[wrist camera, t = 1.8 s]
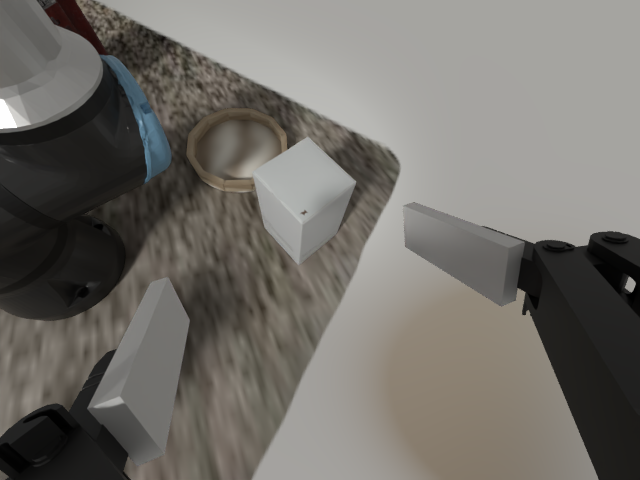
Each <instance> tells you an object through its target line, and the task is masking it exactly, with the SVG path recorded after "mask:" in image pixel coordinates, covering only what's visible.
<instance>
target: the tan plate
mask: <svg viewBox="0 0 640 480" xmlns="http://www.w3.org/2000/svg"><path fill="white" fill-rule="evenodd" d="M286 150H287V137H286V133H285V132H284V130H283V129H282V128H281V127H280V126H279V124H278V123H277V122H276V121H275V119H274V118H273V117H271V116H268V115H266V114H264V113H261V112H259V111H257V110H254V109H251V108H227V109H226V108H225V109H223V110H220V111H218V112H215V113H213V114H210V115H208V116H205V117H204V118H202V119H201V120H200V122H199V123H198V124H197V125H196V126H195V127H194V128H193V129H192V131H191V132H190V133H189V134H188V142H187V152H186V156H187V158H188V159H189V161H190V163H191V165H192V166H193V168H194V169H195V171H196V172H197V174H198V175H199V177H200V178H201V180H202V181H204V182H206V183H207V184H208V185H210V186H212V187H214V188H216V189H218V190H221V191H225V192H231V193H246V192H252V191H255V190H256V187H255V183H254V178H253V173H252V171H254V170H256V169H257V168H259V167H260V166H262V165H263V164H265V163H267V162H268V161H270V160H272V159H273V158H275V157H277V156H278V155H280V154H281V153H283V152H285V151H286Z"/></svg>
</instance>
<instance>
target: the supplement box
mask: <svg viewBox="0 0 640 480" xmlns="http://www.w3.org/2000/svg"><path fill="white" fill-rule="evenodd" d="M252 173H253V178H254V183H255V187H256V191H257V196H258V200H259V204H260V209H261V213H262V218H263V222H264V227H265V229H266V230H267V231H268V232H269V233H270V234H271V235H272V236H273V237H274V239H275V240H276V241H277V242H278V243H279V244H280V245H281V246H282V247H283V249H284V250H285V251H286V252H287V253H288V254H289V255H290V256H291V257H292V259H293V260H294V261H295V262H296V263H297V264H298V265H300V264H301V263H302V262H303V261H305V260H306V259H307V258H308V257H309V256H311V255H312V254H313V253H314V252H315V251H317V250H318V249H319V248H320V247H321V246H323V245H324V244H325V243H326V242H327V241H329V240H330V239H331V238H332V237H333V236H335V235H336V234H337V232H338V229H339V226H340V224H341V221H342V218H343V216H344V213H345V211H346V208H347V205H348V203H349V200H350V197H351V195H352V192H353V190H354V187H355V185H356V181H355V180H354V179H353V178H352V177H351V176H350V175H349V174H347V173H346V172H345V171H344V170H343V169H342V168H341V167H340V166H339V165H338V164H337V163H336V162H335V161H334V160H333V159H331V158H330V157H329V156H328V155H327V154H326V153H325V152H324V151H323V150H322V149H321V148H320V147H318V146H317V145H316V144H315V143H314V142H313V141H312V140H311V139H310V138H309V137H307V138H305V139H304V140H302V141H300V142H299V143H297V144H295V145H294V146H292V147H291V148H289V149H288V150H286V151H285V152H283V153H281V154H280V155H278V156H277V157H275V158H273V159H272V160H270V161H268V162H267V163H265V164H263V165H262V166H260V167H259V168H257V169H256V170H254V171H252Z"/></svg>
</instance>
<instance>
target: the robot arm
mask: <svg viewBox="0 0 640 480" xmlns="http://www.w3.org/2000/svg"><path fill="white" fill-rule="evenodd" d="M171 158H172V156H171V150H170V146H169V143H168V140H167V138H166V135H165V133H164V131H163V128H162V126H161V124H160V122H159V120H158V118H157V116H156V115H155V113H154V112H153V110H152V109H151V108H150V105H149V103H148V101H147V99H146V97H145V95H144V93H143V91H142V90H141V88H140V86H139V85H138V83H137V82H136V80H135V79H134V77H133V76H132V74H131V73H130V72H129V71H128V69H127V68H126V67H125V66H124V65H123V63H122V62H121V61H120V60H119V59H117V58H116V57H114V56H111V55H107V56H105V55H99V54H98V52H97V51H96V49H95V48H94V47H93V46H92V44H91V43H90V42H88V41H87V40H86V39H85V38H83V37H82V36H80V35H78V34H76V33H74V32H72V31H69V30H67V29H64V28H62V27H59V26H57V25H54V24H53V22H52V21H51V20H50V18H49V17H48V15H47V14H46V13H45V11H44V10H43V9H42V7H41V6H40V4H39V3H38V2H37V0H0V308H1V309H3V310H4V311H6V312H8V313H10V314H12V315H15V316H18V317H21V318H26V319H34V320H43V321H52V320H60V319H65V318H69V317H72V316H75V315H77V314H80V313H82V312H84V311H86V310H87V309H89V308H91V307H92V306H94V305H95V304H97V303H98V302H99V301H100V300H102V299H103V298H104V297H105V296H106V295H107V294H108V293H109V292H110V291H111V289H112V288H113V287H114V285H115V284H116V282H117V281H118V279H119V277H120V275H121V273H122V270H123V267H124V262H125V249H124V245H123V242H122V240H121V238H120V236H119V235H118V233H117V232H116V231H115V230H114V229H112V228H111V227H110V226H108V225H107V224H105V223H104V222H102V221H101V220H99V219H97V218H94V217H92V216H89V215H86V214H84V213H86V212H88V211H90V210H92V209H94V208H96V207H98V206H100V205H102V204H104V203H106V202H108V201H110V200H112V199H114V198H116V197H118V196H120V195H122V194H124V193H126V192H128V191H130V190H132V189H134V188H136V187H138V186H140V185H143V184H145V183H147V182H148V181H149V180H150V179H151V178H153V177H154V176H156V175H158V174H159V173H161V172H162V171H164V170H166V169H167V168H168V167H169V165H170V163H171ZM403 213H404V231H405V247H406V248H408V249H410V250H411V251H413V252H415V253H416V254H418V255H419V256H421V257H422V258H424V259H426V260H427V261H429V262H430V263H432V264H434V265H435V266H437V267H438V268H440V269H442V270H443V271H445V272H447V273H448V274H450V275H451V276H453V277H455V278H456V279H458V280H459V281H461V282H462V283H464V284H466V285H467V286H469V287H471V288H472V289H474V290H475V291H477V292H478V293H480V294H482V295H483V296H485V297H486V298H488V299H490V300H491V301H493V302H495V303H496V304H498V305H499V306H504V305H506V304H508V303H510V302H513V301H515V300H516V294H517V288H519V289H521V290H523V291H525V292H526V293H525V299H524V304H523V310H522V314H523V315H526V311H527V310H529V311H530V315H531V316H532V319H533V321H534V324H535V326H536V328H537V331H538V333H539V336H540V338H541V340H542V343H543V345H544V348H545V350H546V353H547V355H548V358H549V360H550V362H551V365H552V367H553V369H554V372H555V374H556V377H557V379H558V382H559V384H560V386H561V389H562V391H563V394H564V396H565V399H566V401H567V403H568V406H569V408H570V411H571V413H572V416H573V418H574V420H575V423H576V425H577V428H578V430H579V433H580V435H581V437H582V440H583V442H584V445H585V447H586V449H587V452H588V454H589V457H590V459H591V462H592V464H593V466H594V469H595V471H596V474H597V476H598V479H599V480H640V239H638V238H636V237H633V236H630V235H627V234H622V233H620V232H613V231H608V232H598V233H594V234H592V235H591V236H590V240H589V244H588V245H587V246H580V247H575V246H574V245H572V244H569V243H566V242H562V241H555V240H545V241H540V242H536V244H533V243H531V242H528V241H525V240H522V239H519V238H517V237H514V236H510V235H508V234H506V235H505V233H502V232H499V231H498V232H497V230H494V229H491V228H488V227H484V226H479V225H476V224H473V223H471V222H468V221H465V220H462V219H459V218H457V217H454V216H451V215H448V214H445V213H443V212H440V211H437V210H434V209H432V208H429V207H426V206H423V205H420V204H418V203H415V202H413V203H410V204H407V205H404V206H403ZM629 276H630V277H631V278H632V279H633V280H634V281H635V282H636V285H635V288H634V290H633V292H632V293H631V292H629V291H628V290H626V289H625V285H626V283H627V280H628V277H629ZM189 323H190V320H189V318H188V316H187V314H186V312H185V310H184V308H183V306H182V304H181V302H180V300H179V298H178V296H177V294H176V292H175V290H174V288H173V286H172V284H171V282H170V280H169V278H168V277H166V278H162V279H159V280H156V281H152V282H151V283H150V285H149V287H148V289H147V291H146V293H145V295H144V297H143V299H142V301H141V303H140V305H139V307H138V309H137V311H136V313H135V315H134V317H133V319H132V321H131V323H130V325H129V327H128V329H127V331H126V333H125V335H124V337H123V339H122V340H121V342H120V344H119V346H118V348H117V349H115V350H113V351H110V352H107V353H106V354H105V355H104V356H103V357H102V358H101V360H100V361H99V362H98V363H97V364H96V365H95V366H94V368H93V370H92V372H91V373H90V375H89V377H88V380H86V382H85V384H84V386H83V388H82V391H80V393H79V395H78V396H77V398H76V400H75V402H74V403H73V405H72V407H71V409H70V411H69V412H68V411H67V410H66V409H65V408H64V407H63V406H62V405H60V404H51V405H46V406H44V407H42V408H39V409H37V410H35V411H33V412H32V413H30V414H28V415H27V416H25V417H24V418H22V419H21V420H19V421H18V422H17V423H16V424H14V425H13V426H12V427H11V428H9V429H8V430H7V431H6V432H5V433H4V434H3V435H2V436H1V437H0V470H1V471H2V472H4V473H5V474H6V475H8V476H9V478H7V479H6V480H131V479H130V478H129V477H128V476H127V475H126V474H125V473H124V472H123V470H124V467H125V464H126V461H127V457H128V456H129V457H130V459H131V460H132V461H133V462H134V463H135V464H136V465H137V466H139V465H142V464H144V463H146V462H148V461H151V460H153V459H155V458H158V457H160V456H162V455H164V454H165V449H166V443H167V438H168V433H169V428H170V422H171V417H172V412H173V407H174V401H175V396H176V391H177V386H178V381H179V375H180V370H181V365H182V360H183V354H184V349H185V344H186V339H187V333H188V328H189Z"/></svg>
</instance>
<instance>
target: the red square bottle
mask: <svg viewBox="0 0 640 480" xmlns="http://www.w3.org/2000/svg"><path fill="white" fill-rule="evenodd" d="M37 2H38V3H39V4H40V6H41V7H42V9H43V10H44V11H45V13H46V14H47V15H48V17H49V18H50V20H51V21H52V22H53V24H54V25H57V26H59V27H62V28H64V29H67V30H69V31H72V32H74V33H76V34H78V35H80V36H82V37H83V38H85V39H86V40H87V41H88V42H90V43H91V44H92V46H93V47H94V48H95V49H96V51H97V52H98V54H99V55H105V56H107V55H109V54H108V53H107V51H106V50H105V48H104V46H103V45H102V43H101V42H100V40H99V38H98V37H97V35H96V33H95V32H94V30H93V29H92V27H91V25H90V24H89V22H88V21H87V19H86V17H85V16H84V14H83V13H82V11H81V9H80V8H79V6H78V5H77V3H76V1H75V0H37Z"/></svg>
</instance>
